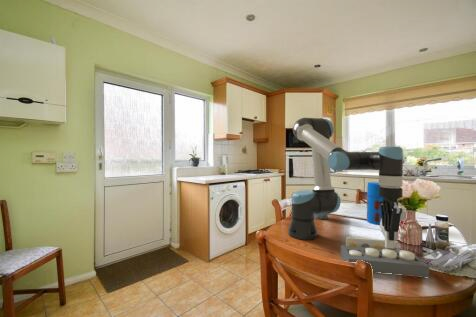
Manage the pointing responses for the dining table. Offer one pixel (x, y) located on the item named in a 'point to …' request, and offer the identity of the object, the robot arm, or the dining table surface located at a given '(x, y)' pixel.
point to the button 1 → (355, 252)
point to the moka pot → (320, 216)
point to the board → (388, 262)
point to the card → (368, 243)
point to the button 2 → (371, 252)
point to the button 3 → (389, 254)
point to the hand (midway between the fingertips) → (389, 247)
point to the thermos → (373, 203)
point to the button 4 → (406, 255)
